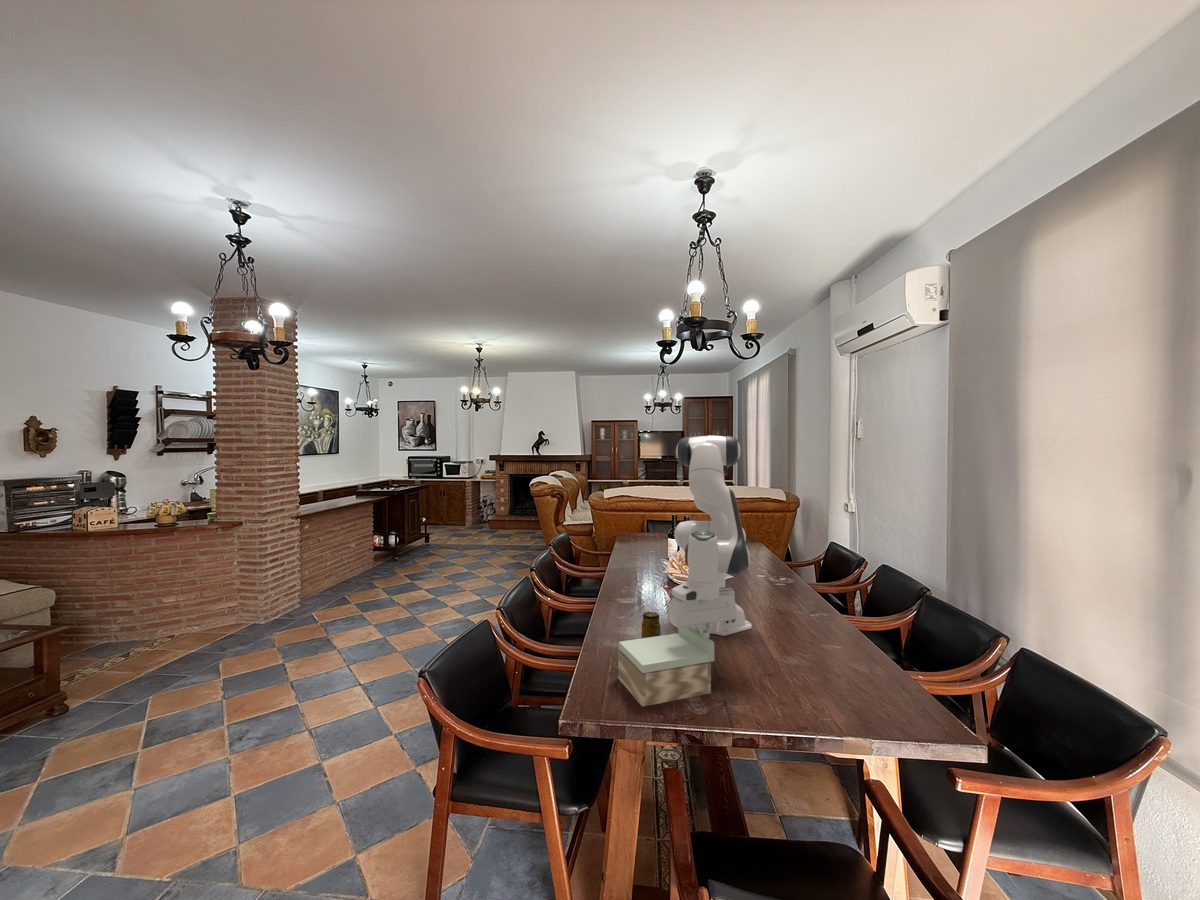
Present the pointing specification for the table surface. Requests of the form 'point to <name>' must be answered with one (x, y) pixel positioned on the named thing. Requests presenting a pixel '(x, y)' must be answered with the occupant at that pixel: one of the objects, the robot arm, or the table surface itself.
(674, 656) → the lid
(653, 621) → the condiment
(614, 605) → the table surface
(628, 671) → the box
